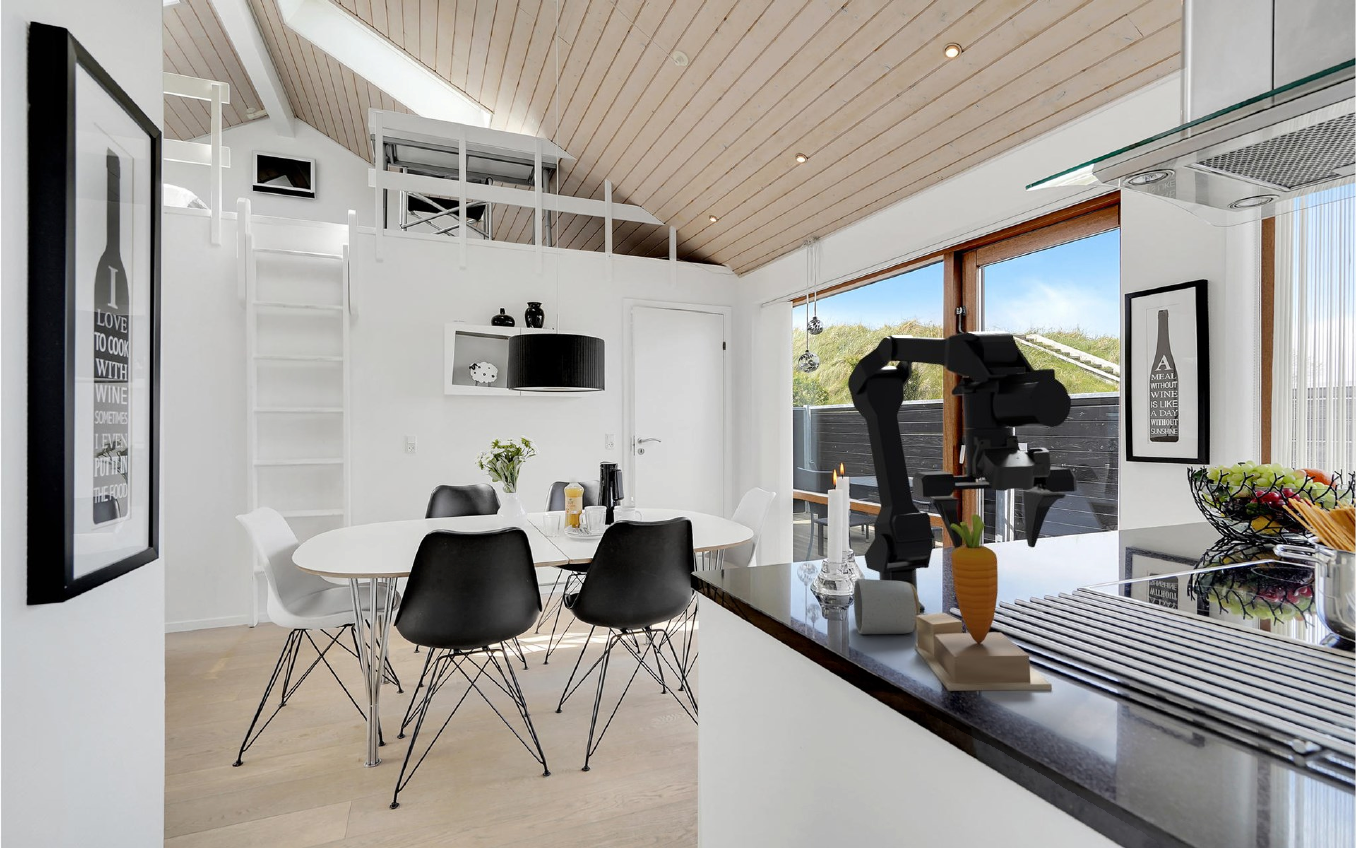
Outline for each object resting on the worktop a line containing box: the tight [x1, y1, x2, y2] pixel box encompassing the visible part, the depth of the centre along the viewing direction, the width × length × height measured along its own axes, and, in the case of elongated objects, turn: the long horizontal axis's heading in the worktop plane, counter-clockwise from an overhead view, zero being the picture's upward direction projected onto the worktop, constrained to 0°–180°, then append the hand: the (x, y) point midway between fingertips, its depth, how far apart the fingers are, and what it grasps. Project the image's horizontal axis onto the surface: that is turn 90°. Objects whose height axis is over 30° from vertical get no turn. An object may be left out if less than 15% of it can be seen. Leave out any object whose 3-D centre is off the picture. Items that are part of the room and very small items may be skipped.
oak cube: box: [916, 612, 964, 656], centre depth 85 cm, size 4×4×4 cm
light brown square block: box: [934, 632, 1031, 683], centre depth 78 cm, size 8×8×3 cm
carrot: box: [950, 514, 999, 644], centre depth 78 cm, size 5×5×15 cm
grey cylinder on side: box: [853, 578, 921, 635], centre depth 96 cm, size 11×8×8 cm
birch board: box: [914, 643, 1053, 692], centre depth 80 cm, size 14×11×1 cm
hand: (994, 548), depth 86 cm, fingers open, 9 cm apart
